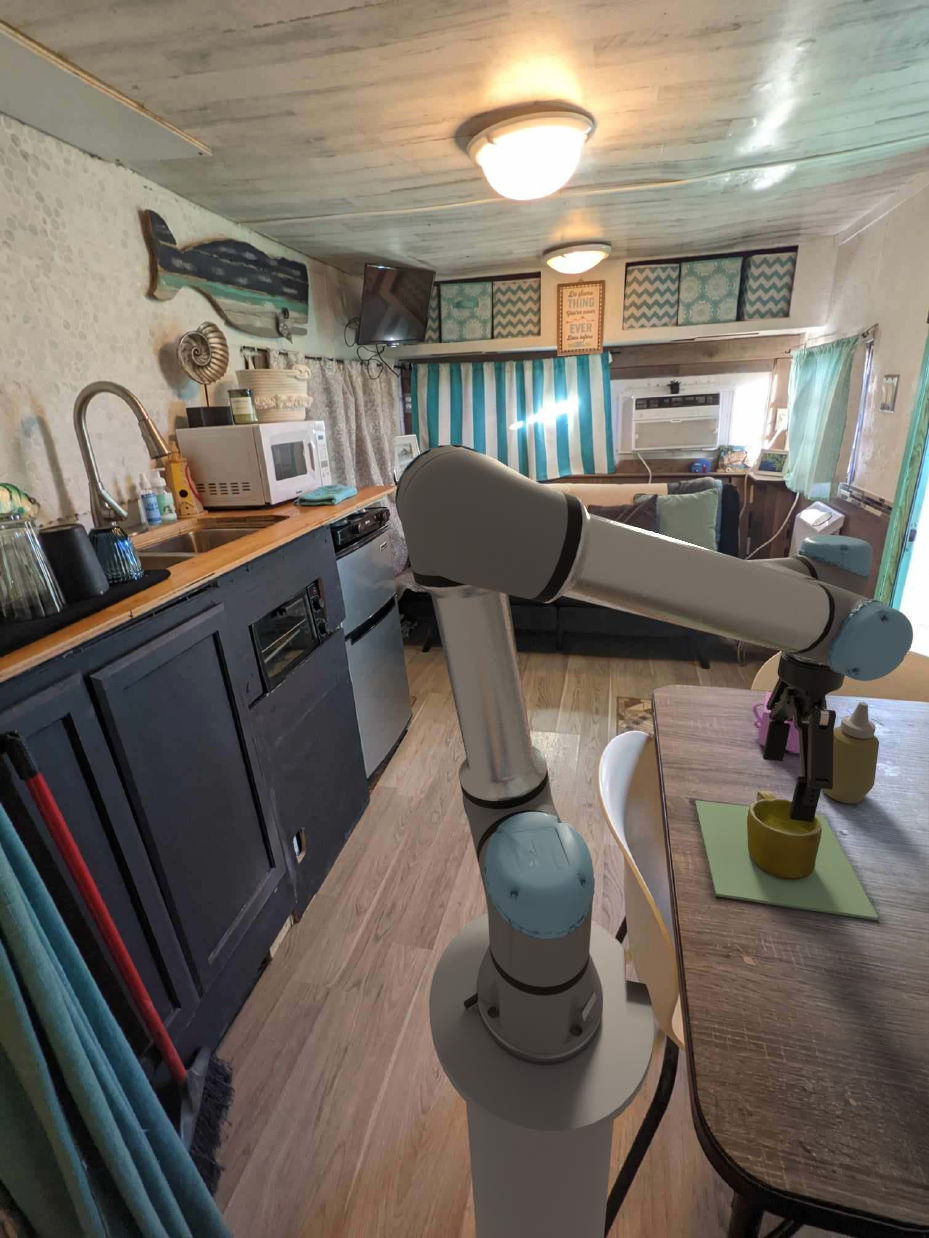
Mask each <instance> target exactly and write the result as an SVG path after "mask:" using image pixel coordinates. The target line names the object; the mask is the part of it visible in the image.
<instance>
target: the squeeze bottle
mask: <svg viewBox="0 0 929 1238" xmlns="http://www.w3.org/2000/svg"><path fill="white" fill-rule="evenodd" d="M876 728H877V727H876V724H875V723H874V722H872V720H870V719H869V704H868V703H867V702H865V701H859V702H858V704H857V706H856V707H855V709H854V711H853V713H852V714H851V715H846V716H843V717H842V719H841V720H840V726H839V725H838V726H835V727H834V744H833V788H832V790H829V789H821V791H823V792H824V794H825V795H826V796H827V797H829V798H831V799H833V800H835V801H837V802H840V803H844V804H858V803H860V802H861V801H863V799H864V798H865V797H866V796H867V795H868V793H869V792H870V791H871V790H872V789H873V787H874V786H875V782H876V773H877V764H878V756H879V749H880V741H879V738H878V737H877V736H876V735H875V732H876Z"/></svg>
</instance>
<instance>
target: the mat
mask: <svg viewBox="0 0 929 1238" xmlns="http://www.w3.org/2000/svg"><path fill="white" fill-rule="evenodd" d="M694 805H695V809H696V813H697V818H698V823H699V827H700V832H701V836H702V842H703V845H704V849H705V854H706V859H707V864H708V867H709V872H710V877H711V882H712V885H713V886H712V887H713V890H714V891H713V892H714V895H715V897H719V898H726V899H733V900H739V901H747V902H753V903H760V904H765V905H773V906H780V907H785V908H794V909H800V910H806V911H813V912H818V913H820V912H821V913H827V914H833V915H839V916H846V917H853V918H859V919H860V918H861V919H867V920H873V921H879V916H878V913H876V911H875V909H874V907H873V905H872V902H871V901H870V899H869V898H868V897H869V896H868V895H867V893H866V892H865V890H864V888H863V885H862V884H861V882H860V879H859V878H858V876H857V875H856V872H855V870H854V869H853V867H852V865H851V863H850V861H849V859H848V857H847V856H846V853H845V852H844V849H843V848H842V845H840V842H839V840H838V839H837V837H836V835H835V833H834V830H833V829H832V827H831V825H830V822H829V821H828V820H827V818H826V816H825V814H820V813H819V814H818V813H815V815H816V816H817V817H818V819H819V820H820V822H821V826H822V834H821V839H820V844H819V848H818V852H817V856H816V862H815V868H814V871H813V872H812V873H811V874H810V875H809V876H808V877H805V878H800V879H797V880H793V879H782V878H779V877H777V876H775V875H773V874H769V873H767V872H765V871H764V870H762V869H761V868H760V867H759V866H758V865H756V863H755V862H754V861H753V859H752V858H751V856H750V853H749V850H748V833H747V816H748V811H749V808H750V806H751V805H750V806H748V805H741V804H740V805H739V804H731V803H723V802H714V801H705V800H694Z"/></svg>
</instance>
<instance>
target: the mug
mask: <svg viewBox="0 0 929 1238" xmlns="http://www.w3.org/2000/svg"><path fill="white" fill-rule="evenodd" d="M791 804H792V800H790V799H789V800H788V799H783V798H777V797H776V796H775V794H774V793H773V792H772V791H770V790H759V791H757V792H756V801H754V802H752V803H751V805H750V808H749V811H748V816H747V833H748V850H749V853H750V856H751V858H752V859H753V861H754V862H755V863H756V865H758V866H759V867H760V868H761V869H762V870H764V871H765V872H767V873H769V874H773V875H775V876H777V877H779V878H782V879H793V880H797V879H800V878H805V877H808V876H809V875H810V874H811V873H812V872H813V871H814V868H815V862H816V856H817V852H818V848H819V844H820V839H821V834H822V826H821V822H820V820H819V819H818V817H817V816H816V815H815V817H814V821H813V822H807V821H799V820H791V819H790V817H789V813H790V809H791Z"/></svg>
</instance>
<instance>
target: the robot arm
mask: <svg viewBox="0 0 929 1238" xmlns="http://www.w3.org/2000/svg"><path fill="white" fill-rule="evenodd" d="M394 501H395V502H394V503H395V509H396V513H397V516H398V518H399V520H400V523H401V528H402V532H403V536H404V540H405V544H406V550H407V554H408V558H409V562H410V563H409V564H410V567H411V572H412V577H413V580H414V583H415V585H416V586H417V587H419V588H420V589H422V590H424V591H426V593H429V594H430V596H431V599H432V600H431V601H432V604H433V609H434V614H435V618H436V622H437V627H438V632H439V636H440V641H441V645H442V651H443V655H444V660H445V664H446V669H447V674H448V680H449V682H450V687H451V688H450V689H451V692H452V696H453V702H454V706H455V712H456V715H457V716H456V717H457V721H458V725H459V730H460V733H461V739H462V743H463V748H464V752H465V758H464V760H463V761H462V763H461V765H460V767H459V770H458V779H459V784H460V789H461V795H462V797H461V798H462V804H463V808H464V812H465V815H466V817H467V821H468V825H469V829H470V833H471V837H472V843H473V847H474V851H475V856H476V860H477V864H478V868H479V873H480V878H481V881H482V886H483V891H484V895H485V901H486V908H487V912H488V925H489V946H488V948H487V951H486V953H485V955H484V957H483V960H482V962H481V965H480V968H479V972H478V976H477V984H476V992H477V993H476V994H475V995H473V996H472V997H470V998H469V999H467V1000H465V1001H464V1006H465V1008H466V1009H468V1008H469V1007H471V1006H473V1005H474V1004H476V1003H477V1005H478V1010H479V1014H480V1017H481V1020H482V1022H483V1025H484V1027H485V1028H486V1030H487V1032H488V1033H489V1035H490V1036H491V1038H492V1039H493V1040H494V1041H495V1042H496V1043H497V1044H498V1045H499V1046H500V1047H501V1048H502V1049H503V1050H505V1051H506V1052H507V1053H509V1054H510V1055H512V1056H514V1057H516V1058H517V1059H520V1060H522V1061H525V1062H528V1063H532V1064H538V1065H553V1064H559V1063H563V1062H566V1061H568V1060H571V1059H573V1058H574V1057H576V1056H578V1055H579V1054H581V1053H582V1052H583V1051H584V1050H585V1049H586V1048H587V1047H588V1046H589V1045H590V1044H591V1042H592V1041H593V1039H594V1038H595V1036H596V1034H597V1032H598V1030H599V1027H600V1024H601V1019H602V1011H603V991H602V985H601V981H600V977H599V975H598V972H597V969H596V967H595V964H594V962H593V959H592V957H591V955H590V936H591V920H592V919H593V902H594V895H595V887H596V879H595V877H594V875H595V871H594V865H593V857H592V854H591V852H590V849H589V847H588V845H587V843H586V841H585V839H584V838H583V837H582V835H581V834H580V832H579V831H578V830H577V829H576V828H575V827H573V826H572V825H571V824H570V823H569V822H566V821H565V822H562V820H561V817H560V816H559V813H558V810H557V809H556V806H555V803H554V800H553V795H552V790H551V789H552V788H551V783H550V777H549V770H548V765H547V759H546V757H545V755H544V754H543V753H542V751H541V750H539V749H538V748H537V747H536V746H533V744H532V743H533V742H532V738H531V737H532V736H531V732H530V724H529V720H528V719H529V717H528V711H527V705H526V699H525V693H524V686H523V680H522V674H521V668H520V661H519V654H518V648H517V643H516V642H517V641H516V636H515V630H514V624H513V617H512V611H511V610H512V609H511V605H510V598H509V596H514V597H518V598H523V599H527V600H530V601H535V602H539V603H542V604H550V603H552V602H554V601H555V600H558V599H559V598H561V597H562V596H563V597H566V598H571V599H574V600H577V601H583V602H586V603H590V604H594V605H598V606H602V607H607V608H609V609H613V610H617V611H621V612H626V613H628V614H629V613H630V614H634V615H637V616H641V617H645V618H649V619H653V620H657V621H662V622H665V623H669V624H673V625H677V626H679V627H680V626H681V627H685V628H689V629H693V630H696V631H701V632H705V633H708V634H712V635H716V636H720V637H724V638H727V639H733V640H737V641H740V642H744V643H748V644H752V645H756V646H760V647H764V648H768V649H771V650H776V651H778V652H779V651H780V656H779V661H778V667H777V671H776V673H777V676H778V679H777V681H776V684H775V686H774V688H773V690H772V691H771V692H772V694H771V696H770V698H769V700H768V702H767V705H766V708H767V710H771V712H770V713H769V719H770V720H772V721H770V722H769V727H768V732H767V737H766V743H765V747H763V753H762V758H763V759H762V760H764V761H770V762H771V761H773V762H782V763H784V759H785V754H786V751H787V750H786V745H787V740H788V736H789V731H790V724H789V723H784V722H785V721H790V722H793V721H792V720H793V718H794V727H795V729H797V730H798V732H799V746H800V753H799V759H800V760H799V761H800V775H797V776H796V777H794V779H795V786H794V791H793V796H792V800H791V801H792V804H791V809H790V813H789V817H790V819H791V820H799V821H807V822H813V821H814V817H815V814H816V812H817V809H818V805H819V799H820V796H821V792H822V789H829V790H832V788H833V744H834V728H835V725H836V718H837V712H836V710H834V709H828V705H827V700H826V699H827V698H826V697H827V695H828V694H830V693H832V692H836V691H838V690H840V689H841V688H842V687H843V685H844V681H845V676H846V677H848V678H850V679H853V680H855V681H861V682H869V681H871V682H872V681H874V680H878V679H882V678H884V677H885V676H888V675H889V674H891V673H892V672H894V671H895V670H896V669H897V668H898V667H899V666H900V665H901V664H902V663H903V662H904V660H905V657H906V656H907V653H908V652H909V651H910V650H911V647H912V646H913V645H912V644H913V640H914V628H913V625H912V623H911V621H910V619H909V618H908V617H907V616H906V615H905V614H904V613H903V612H902V611H900V610H898V609H897V608H893V607H892V606H889V605H886V604H884V603H883V601H881V600H879V599H875V598H869V597H866V596H865V594H866V590H867V587H868V582H869V580H870V579H871V569H872V562H873V556H874V555H873V554H874V550H873V547H872V545H871V544H870V543H869V542H868V541H865V540H863V539H861V538H858V537H857V538H856V537H853V536H847V535H838V534H817V535H815V534H814V535H811V536H808V537H806V538H805V539H804V540H802V542H801V545H800V549H799V550H798V555H793V556H789V557H778V558H777V557H776V558H764V559H761V558H759V559H748V560H747V559H746V560H745V559H743V558H738V557H736V556H733V555H729V554H725V553H722V552H719V551H715V550H713V549H709V548H706V547H702V546H699V545H696V544H692V543H689V542H687V541H686V542H685V541H682V540H679V539H676V538H673V537H669V536H666V535H663V534H659V533H656V532H654V531H650V530H646V529H643V528H639V527H636V526H633V525H630V524H626V523H623V522H620V521H616V520H613V519H610V518H606V517H604V516H600V515H596V514H593V513H591V512H588V511H587V509H586V507H585V504H584V502H583V500H582V499H581V498H580V497H579V496H577V495H576V496H575V495H574V494H573V495H572V494H569V493H566V492H563V491H560V490H557V489H554V488H551V487H549V486H547V485H544V484H542V483H540V482H538V481H535V480H533V479H531V478H530V477H527V476H526V475H523V474H522V473H520V472H518V471H516V470H515V469H512V468H511V467H509V466H507V465H506V464H504V463H503V462H501V461H499V460H498V459H496V458H493V457H492V456H490V455H487V454H485V453H481V452H480V451H478V450H477V449H475V448H473V447H471V446H466V445H463V444H457V443H453V444H440V445H438V446H437V445H436V446H435V447H431V448H427V449H426V450H424V451H423V452H421V453H419V454H417V455H416V456H415V457H414V458H412V460H411V461H410V462H409V463H407V465H406V466H405V467H404V468H403V470H402V473H401V475H400V476H399V479H398V481H397V484H396V490H395V494H394ZM802 721H803V722H809V723H803V722H802ZM592 921H593V920H592Z"/></svg>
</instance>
